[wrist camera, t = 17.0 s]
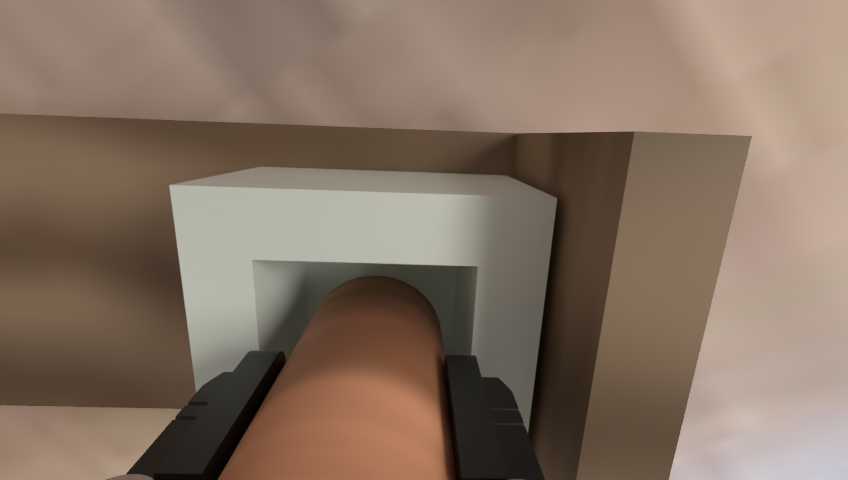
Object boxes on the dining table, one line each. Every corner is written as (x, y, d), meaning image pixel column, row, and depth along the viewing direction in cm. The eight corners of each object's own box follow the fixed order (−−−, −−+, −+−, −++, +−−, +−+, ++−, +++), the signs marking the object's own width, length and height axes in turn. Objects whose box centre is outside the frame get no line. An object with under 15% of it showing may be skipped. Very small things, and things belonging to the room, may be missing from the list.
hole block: (261, 166, 14) (169, 184, 9) (506, 175, 15) (557, 198, 9) (275, 381, 17) (209, 497, 11) (487, 386, 17) (519, 501, 12)
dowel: (309, 273, 12) (-231, 955, 2) (444, 277, 12) (572, 943, 2) (313, 391, 13) (-26, 1226, 3) (438, 394, 13) (505, 1213, 3)
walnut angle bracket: (-102, 110, 15) (-855, 74, 6) (561, 135, 15) (751, 136, 7) (-20, 389, 18) (-440, 633, 9) (529, 401, 18) (630, 639, 10)
